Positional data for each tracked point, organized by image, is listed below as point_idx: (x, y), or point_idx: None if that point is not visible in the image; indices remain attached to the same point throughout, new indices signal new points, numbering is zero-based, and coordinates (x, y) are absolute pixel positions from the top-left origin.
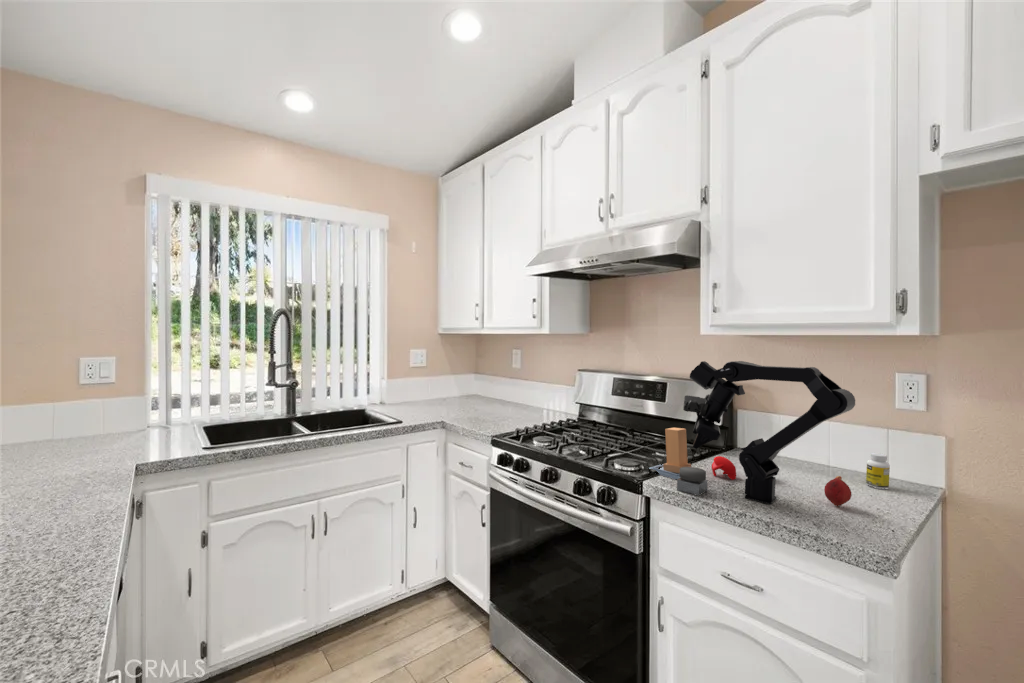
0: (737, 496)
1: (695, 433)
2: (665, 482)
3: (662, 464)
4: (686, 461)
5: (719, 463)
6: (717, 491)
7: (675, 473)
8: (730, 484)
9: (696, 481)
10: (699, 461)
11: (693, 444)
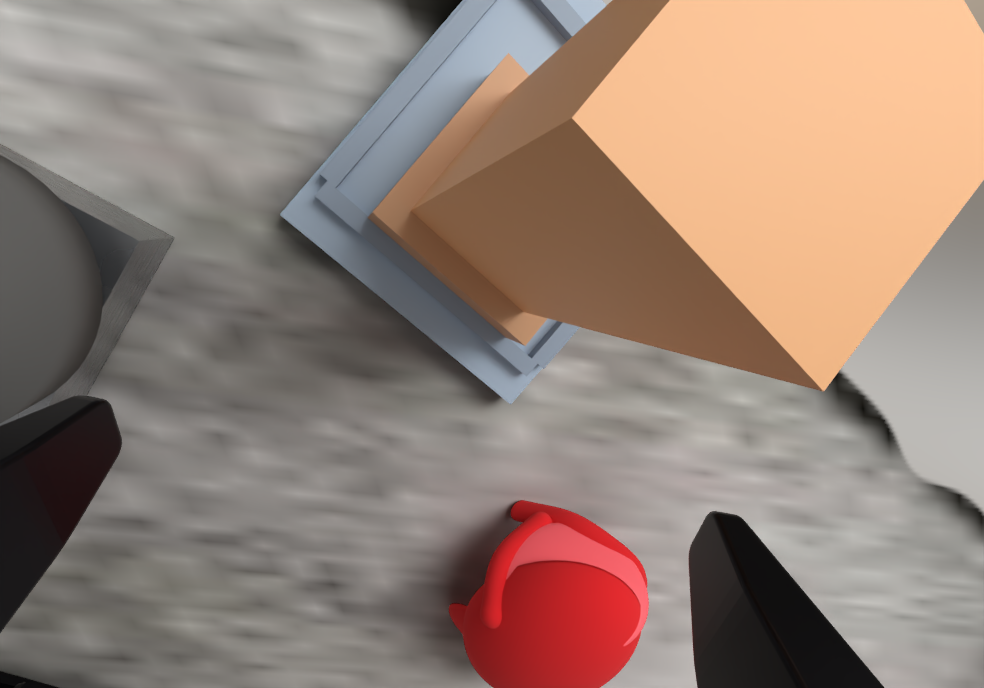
0: None
1: (691, 548)
2: (187, 46)
3: None
4: (520, 302)
5: (512, 601)
6: None
7: None
8: (330, 592)
9: None
10: (861, 438)
11: (43, 422)
